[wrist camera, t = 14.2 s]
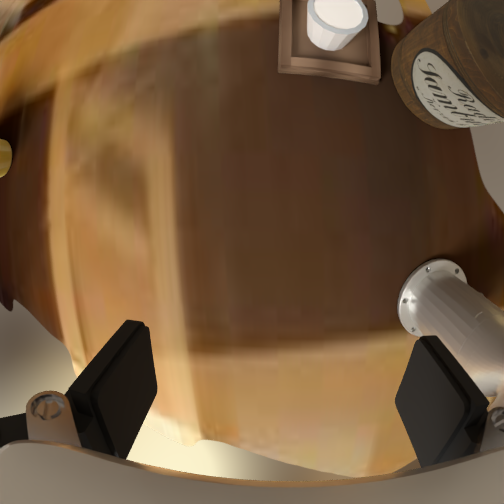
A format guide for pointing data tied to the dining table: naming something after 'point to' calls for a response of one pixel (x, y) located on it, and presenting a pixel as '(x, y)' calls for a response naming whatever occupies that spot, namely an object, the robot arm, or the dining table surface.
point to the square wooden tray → (325, 61)
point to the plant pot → (5, 157)
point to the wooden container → (454, 65)
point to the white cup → (335, 22)
